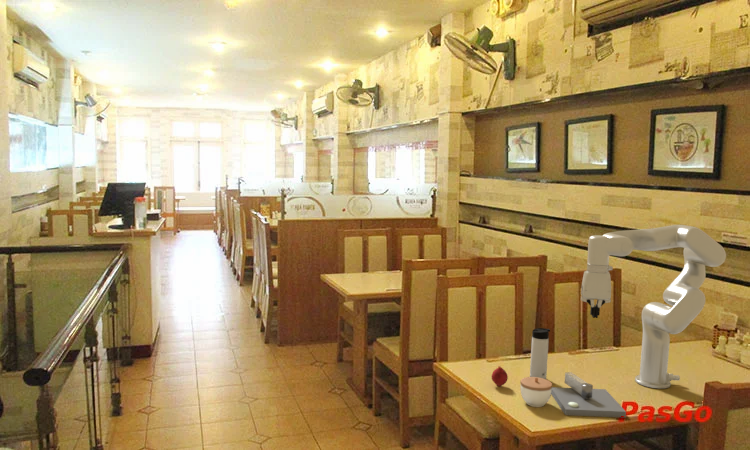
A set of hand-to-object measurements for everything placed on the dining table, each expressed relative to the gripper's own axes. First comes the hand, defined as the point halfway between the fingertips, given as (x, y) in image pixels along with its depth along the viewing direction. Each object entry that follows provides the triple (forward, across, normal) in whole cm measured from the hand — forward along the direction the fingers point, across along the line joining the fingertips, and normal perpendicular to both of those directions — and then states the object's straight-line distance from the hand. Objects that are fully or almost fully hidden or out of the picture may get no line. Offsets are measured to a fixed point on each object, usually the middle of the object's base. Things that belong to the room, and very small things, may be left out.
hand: (594, 317), depth 229 cm
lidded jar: (+27, +22, +22) cm, 41 cm away
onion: (+27, +34, +9) cm, 44 cm away
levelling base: (+27, +5, +19) cm, 33 cm away
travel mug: (+27, +19, -4) cm, 33 cm away
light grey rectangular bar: (+25, +7, +13) cm, 29 cm away
